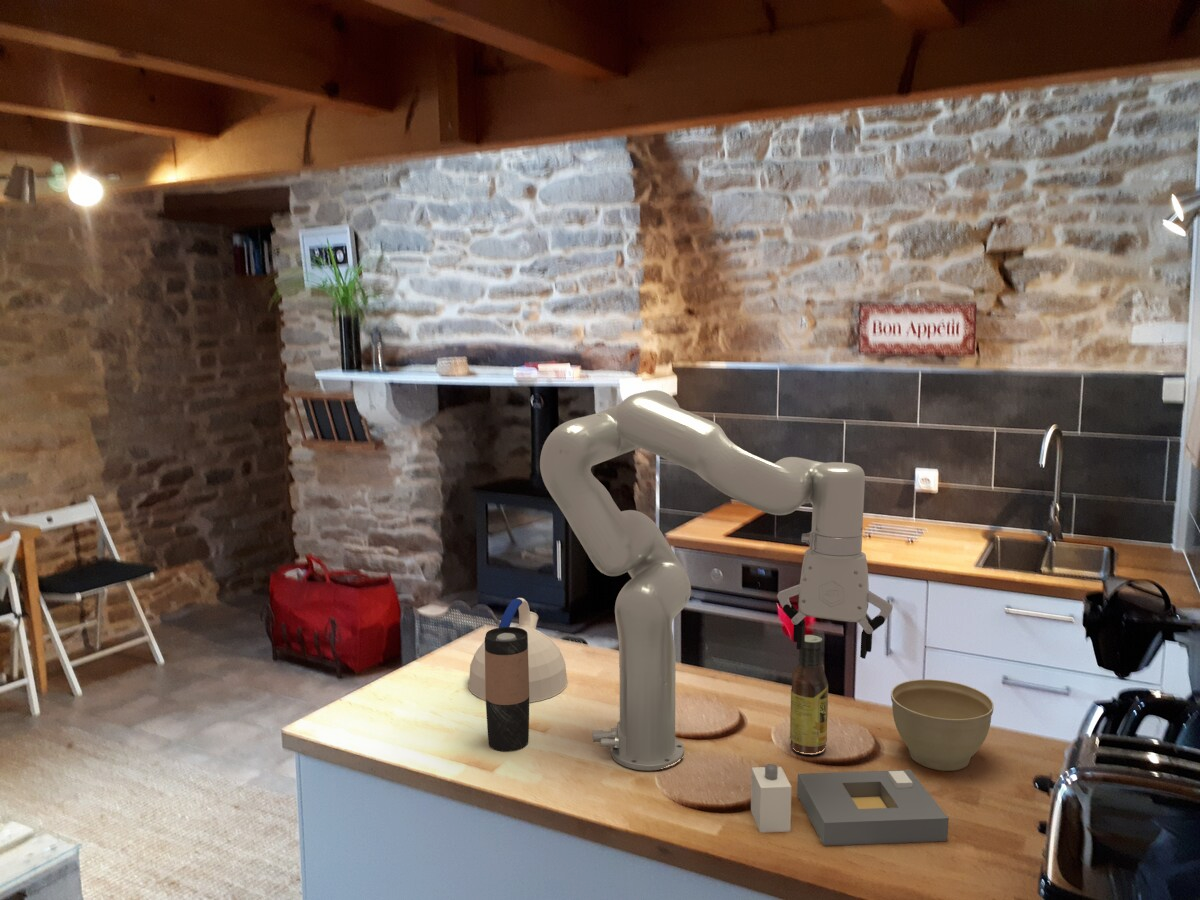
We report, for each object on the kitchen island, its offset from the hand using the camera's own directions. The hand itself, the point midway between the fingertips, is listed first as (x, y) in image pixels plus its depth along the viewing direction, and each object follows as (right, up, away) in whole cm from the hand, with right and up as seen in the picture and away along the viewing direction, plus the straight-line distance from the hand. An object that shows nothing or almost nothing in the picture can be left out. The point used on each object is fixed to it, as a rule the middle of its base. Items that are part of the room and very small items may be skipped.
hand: (831, 651), depth 143 cm
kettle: (-53, -17, +46) cm, 72 cm away
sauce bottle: (0, -21, +17) cm, 27 cm away
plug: (-11, -24, -6) cm, 27 cm away
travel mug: (-52, -21, +20) cm, 60 cm away
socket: (+4, -24, -5) cm, 25 cm away
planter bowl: (+21, -21, +13) cm, 33 cm away
